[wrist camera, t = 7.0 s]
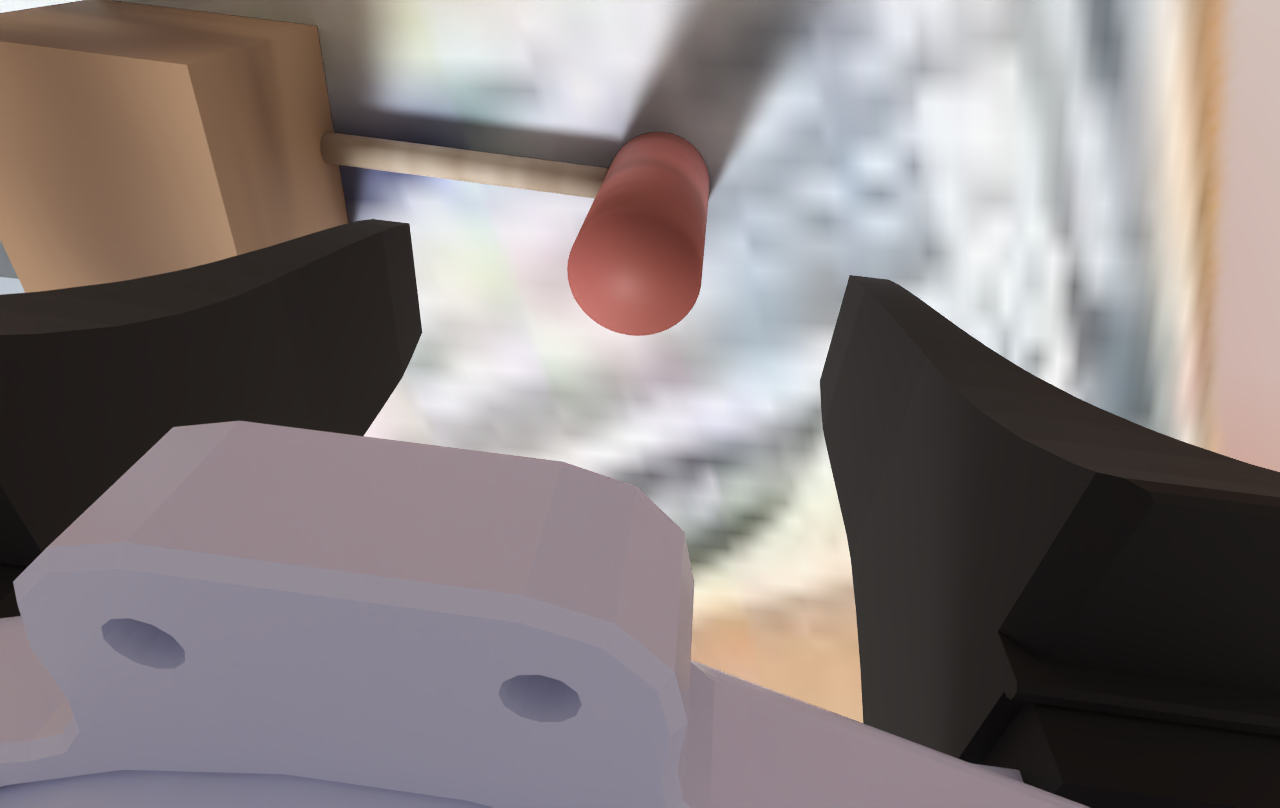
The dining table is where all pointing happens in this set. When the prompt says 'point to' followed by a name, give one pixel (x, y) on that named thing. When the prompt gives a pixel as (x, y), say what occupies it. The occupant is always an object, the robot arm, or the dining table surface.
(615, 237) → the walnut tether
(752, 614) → the dining table surface
